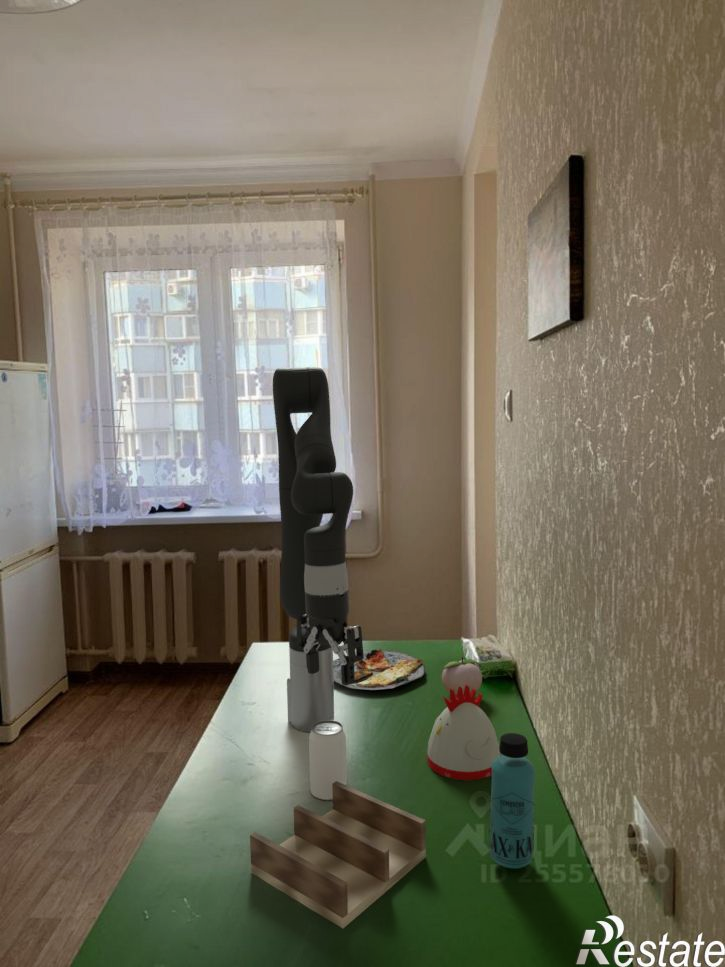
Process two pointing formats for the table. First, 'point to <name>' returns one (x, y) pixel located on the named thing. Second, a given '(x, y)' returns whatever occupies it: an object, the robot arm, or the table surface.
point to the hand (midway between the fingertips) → (330, 678)
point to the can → (327, 758)
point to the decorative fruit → (462, 675)
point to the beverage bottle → (512, 804)
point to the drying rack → (342, 854)
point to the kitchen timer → (463, 739)
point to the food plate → (375, 662)
